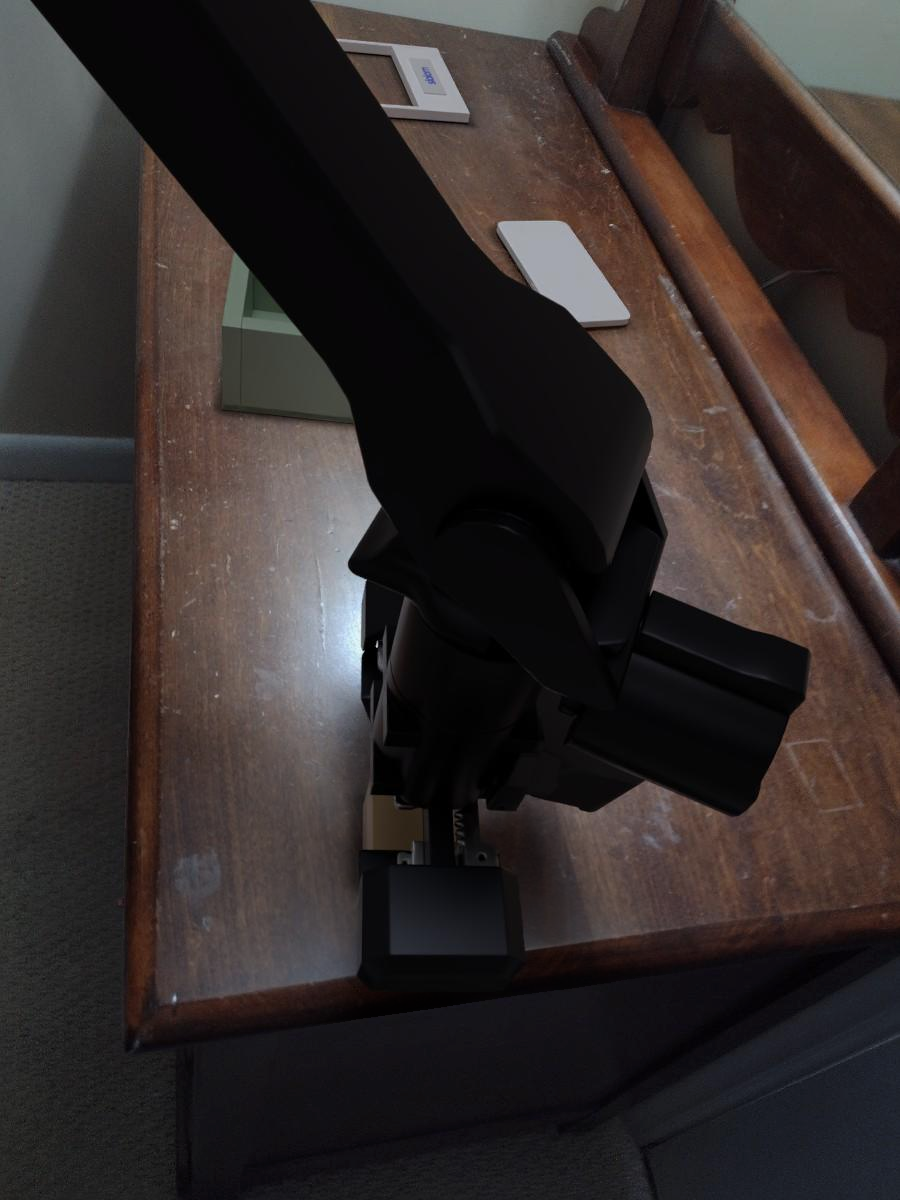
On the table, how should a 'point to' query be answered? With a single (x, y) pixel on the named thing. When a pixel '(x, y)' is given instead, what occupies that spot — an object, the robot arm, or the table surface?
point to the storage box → (272, 358)
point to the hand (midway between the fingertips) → (404, 835)
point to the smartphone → (563, 271)
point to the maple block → (390, 824)
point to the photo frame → (418, 81)
